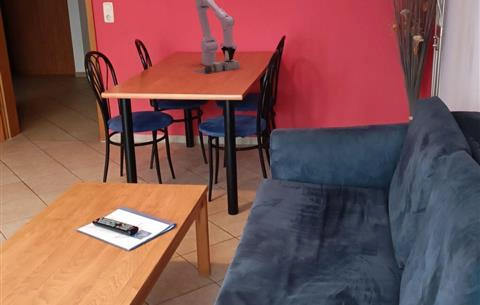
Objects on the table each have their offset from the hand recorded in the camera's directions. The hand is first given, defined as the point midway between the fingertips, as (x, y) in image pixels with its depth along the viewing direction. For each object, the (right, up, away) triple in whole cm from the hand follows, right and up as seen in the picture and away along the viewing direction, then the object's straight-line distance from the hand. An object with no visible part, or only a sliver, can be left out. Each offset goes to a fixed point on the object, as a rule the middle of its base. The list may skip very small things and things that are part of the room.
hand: (228, 59), depth 352 cm
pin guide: (-7, -7, -3) cm, 10 cm away
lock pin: (-9, -8, -5) cm, 13 cm away
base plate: (-7, -7, -1) cm, 10 cm away
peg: (0, -2, +1) cm, 3 cm away
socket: (0, -5, +2) cm, 5 cm away
